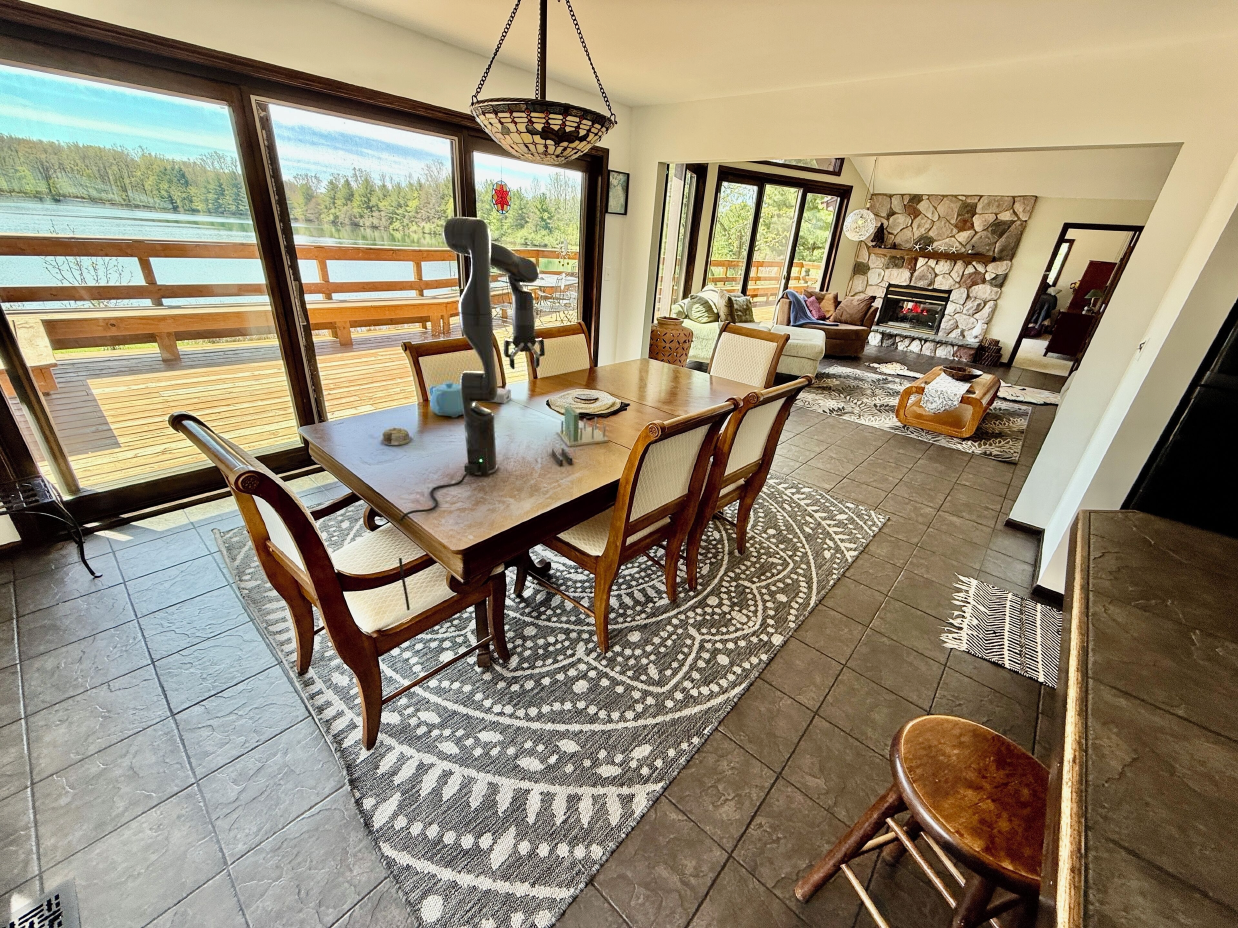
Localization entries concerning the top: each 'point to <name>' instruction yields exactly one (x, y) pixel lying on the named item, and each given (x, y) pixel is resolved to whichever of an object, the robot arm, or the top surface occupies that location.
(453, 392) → the decorative pot
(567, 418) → the lid
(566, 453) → the pair of dark bars
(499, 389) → the charger
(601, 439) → the dish rack
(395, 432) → the cake
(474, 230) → the robot arm
